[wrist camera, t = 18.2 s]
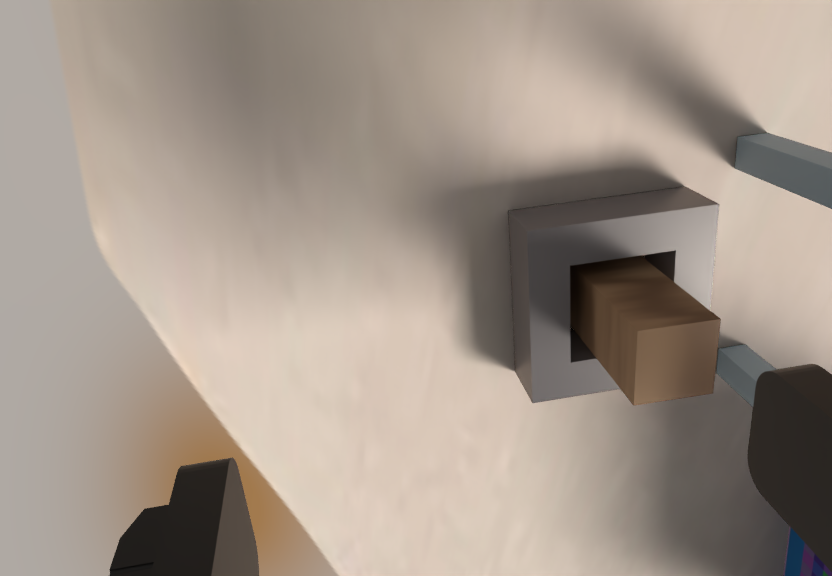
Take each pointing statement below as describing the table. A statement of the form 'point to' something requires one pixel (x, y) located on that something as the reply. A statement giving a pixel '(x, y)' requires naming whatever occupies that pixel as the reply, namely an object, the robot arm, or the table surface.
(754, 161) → the two-legged side table
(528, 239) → the socket
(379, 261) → the table surface
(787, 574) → the box
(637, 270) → the walnut peg
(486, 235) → the table surface
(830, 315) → the table surface
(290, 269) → the table surface
